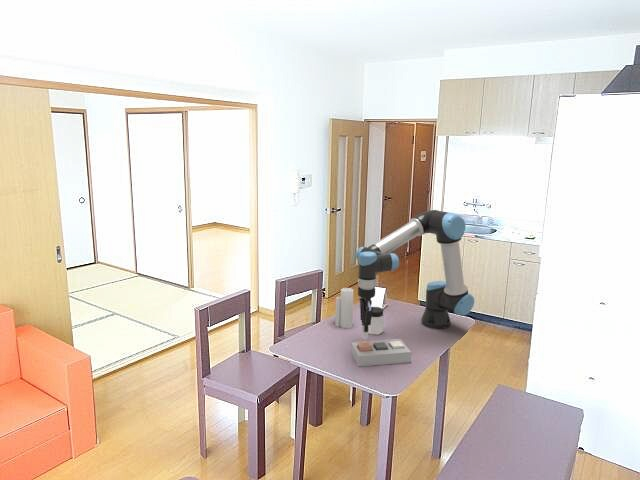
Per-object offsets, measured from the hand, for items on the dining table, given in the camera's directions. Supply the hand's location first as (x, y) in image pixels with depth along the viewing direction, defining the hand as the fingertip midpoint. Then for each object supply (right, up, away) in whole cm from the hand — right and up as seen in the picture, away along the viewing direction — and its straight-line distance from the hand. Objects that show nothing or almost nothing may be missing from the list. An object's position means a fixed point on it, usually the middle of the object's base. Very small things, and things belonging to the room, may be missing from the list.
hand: (364, 337), depth 211 cm
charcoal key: (+7, -6, +3) cm, 10 cm away
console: (+7, -10, +4) cm, 13 cm away
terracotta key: (0, -5, +1) cm, 5 cm away
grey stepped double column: (-8, -2, +40) cm, 41 cm away
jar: (+8, -4, +32) cm, 33 cm away
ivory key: (+15, -6, +4) cm, 16 cm away
